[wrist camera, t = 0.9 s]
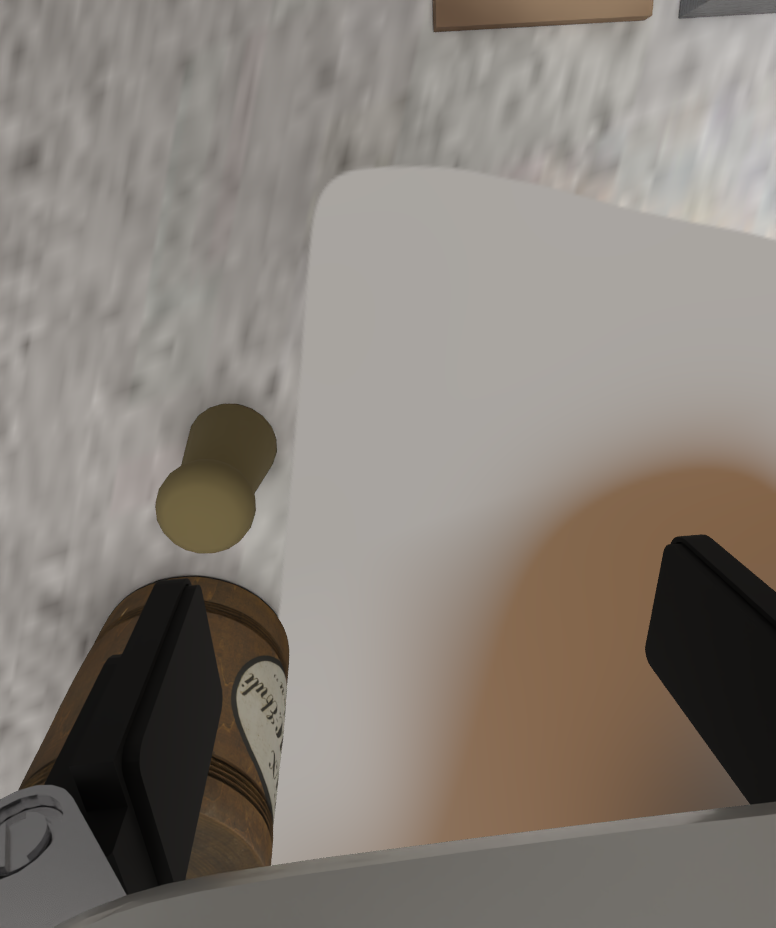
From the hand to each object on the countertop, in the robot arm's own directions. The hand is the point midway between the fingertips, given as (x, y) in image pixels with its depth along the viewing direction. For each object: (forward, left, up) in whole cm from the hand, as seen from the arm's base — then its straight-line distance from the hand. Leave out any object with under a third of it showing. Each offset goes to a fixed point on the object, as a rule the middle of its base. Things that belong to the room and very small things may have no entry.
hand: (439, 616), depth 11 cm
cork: (+6, -10, -29) cm, 31 cm away
